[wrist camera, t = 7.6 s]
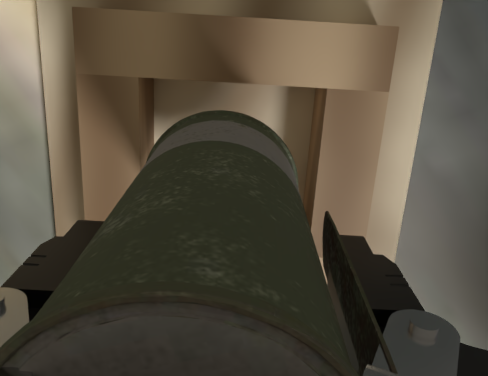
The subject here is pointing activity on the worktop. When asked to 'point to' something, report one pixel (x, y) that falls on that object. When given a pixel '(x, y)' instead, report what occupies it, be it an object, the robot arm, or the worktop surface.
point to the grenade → (205, 272)
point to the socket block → (241, 96)
